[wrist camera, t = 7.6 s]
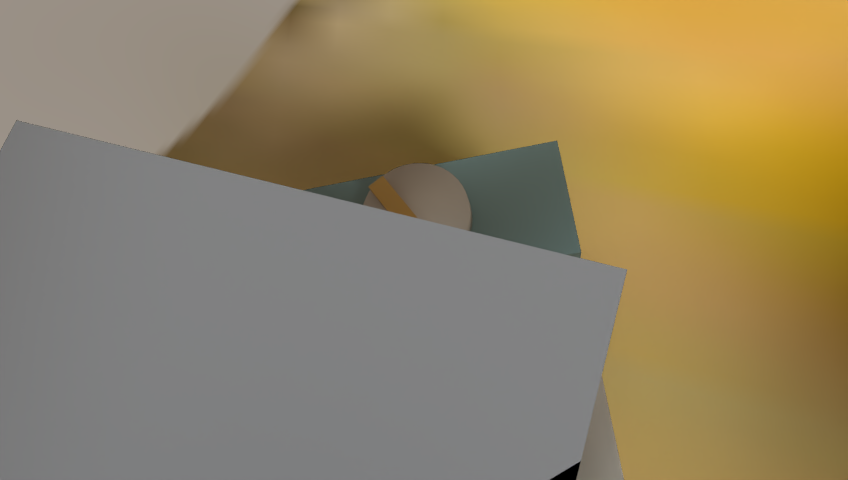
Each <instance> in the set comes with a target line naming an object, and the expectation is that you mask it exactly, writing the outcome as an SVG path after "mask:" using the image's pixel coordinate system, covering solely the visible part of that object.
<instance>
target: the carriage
mask: <svg viewBox="0 0 848 480" xmlns="http://www.w3.org/2000/svg"><path fill="white" fill-rule="evenodd" d="M626 272H627V270H626V269H622V268H618V267H614V266H610V265H606V264H602V263H598V262H594V261H590V260H586V259H582V258H577V257H573V256H569V255H565V254H561V253H557V252H553V251H549V250H545V249H541V248H537V247H532V246H528V245H524V244H520V243H516V242H512V241H508V240H504V239H500V238H496V237H492V236H487V235H483V234H479V233H475V232H471V231H467V230H463V229H459V228H455V227H451V226H447V225H442V224H438V223H434V222H430V221H426V220H422V219H418V218H414V217H410V216H406V215H402V214H398V213H393V212H389V211H385V210H381V209H377V208H373V207H369V206H365V205H361V204H357V203H353V202H348V201H344V200H340V199H336V198H332V197H328V196H324V195H320V194H316V193H312V192H308V191H303V190H299V189H295V188H291V187H287V186H283V185H279V184H275V183H271V182H267V181H263V180H258V179H254V178H250V177H246V176H242V175H238V174H234V173H230V172H226V171H222V170H218V169H213V168H209V167H205V166H201V165H197V164H193V163H189V162H185V161H181V160H177V159H173V158H169V157H164V156H160V155H156V154H152V153H148V152H144V151H139V150H136V149H132V148H127V147H124V146H119V145H115V144H111V143H107V142H103V141H99V140H95V139H91V138H87V137H82V136H79V135H74V134H70V133H66V132H62V131H58V130H54V129H50V128H46V127H42V126H38V125H33V124H29V123H25V122H21V121H16V122H15V124H14V126H13V128H12V130H11V132H10V134H9V135H8V137H7V139H6V141H5V143H4V145H3V146H2V148H1V150H0V480H624V478H623V473H622V469H621V464H620V459H619V454H618V450H617V445H616V440H615V436H614V431H613V426H612V422H611V417H610V412H609V407H608V403H607V398H606V393H605V389H604V384H603V379H602V371H603V367H604V363H605V359H606V355H607V351H608V346H609V342H610V338H611V334H612V330H613V326H614V322H615V317H616V313H617V309H618V305H619V301H620V297H621V293H622V288H623V284H624V280H625V276H626Z"/></svg>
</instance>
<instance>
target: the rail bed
mask: <svg viewBox="0 0 848 480" xmlns="http://www.w3.org/2000/svg"><path fill="white" fill-rule="evenodd" d="M303 191H308V192H312V193H316V194H320V195H324V196H328V197H332V198H336V199H340V200H344V201H348V202H353V203H357V204H361V205H365V206H369V207H373V208H377V209H381V210H385V211H389V212H393V213H398V214H402V215H406V216H410V217H414V218H418V219H422V220H426V221H430V222H434V223H438V224H442V225H447V226H451V227H455V228H459V229H463V230H467V231H471V232H475V233H479V234H483V235H487V236H492V237H496V238H500V239H504V240H508V241H512V242H516V243H520V244H524V245H528V246H532V247H537V248H541V249H545V250H549V251H553V252H557V253H561V254H565V255H569V256H573V257H577V258H580V256H581V249H580V245H579V240H578V235H577V231H576V226H575V222H574V217H573V212H572V208H571V203H570V198H569V194H568V189H567V185H566V180H565V175H564V171H563V166H562V161H561V157H560V152H559V147H558V143H557V141H553V142H548V143H543V144H538V145H532V146H527V147H522V148H517V149H512V150H507V151H502V152H496V153H491V154H486V155H481V156H476V157H471V158H466V159H461V160H455V161H450V162H445V163H440V164H435V165H432V164H426V163H413V164H407V165H403V166H400V167H397V168H395V169H393V170H391V171H389V172H388V173H386V174H384V175H379V176H373V177H368V178H363V179H358V180H353V181H348V182H343V183H337V184H332V185H327V186H322V187H317V188H312V189H307V190H303Z"/></svg>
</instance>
